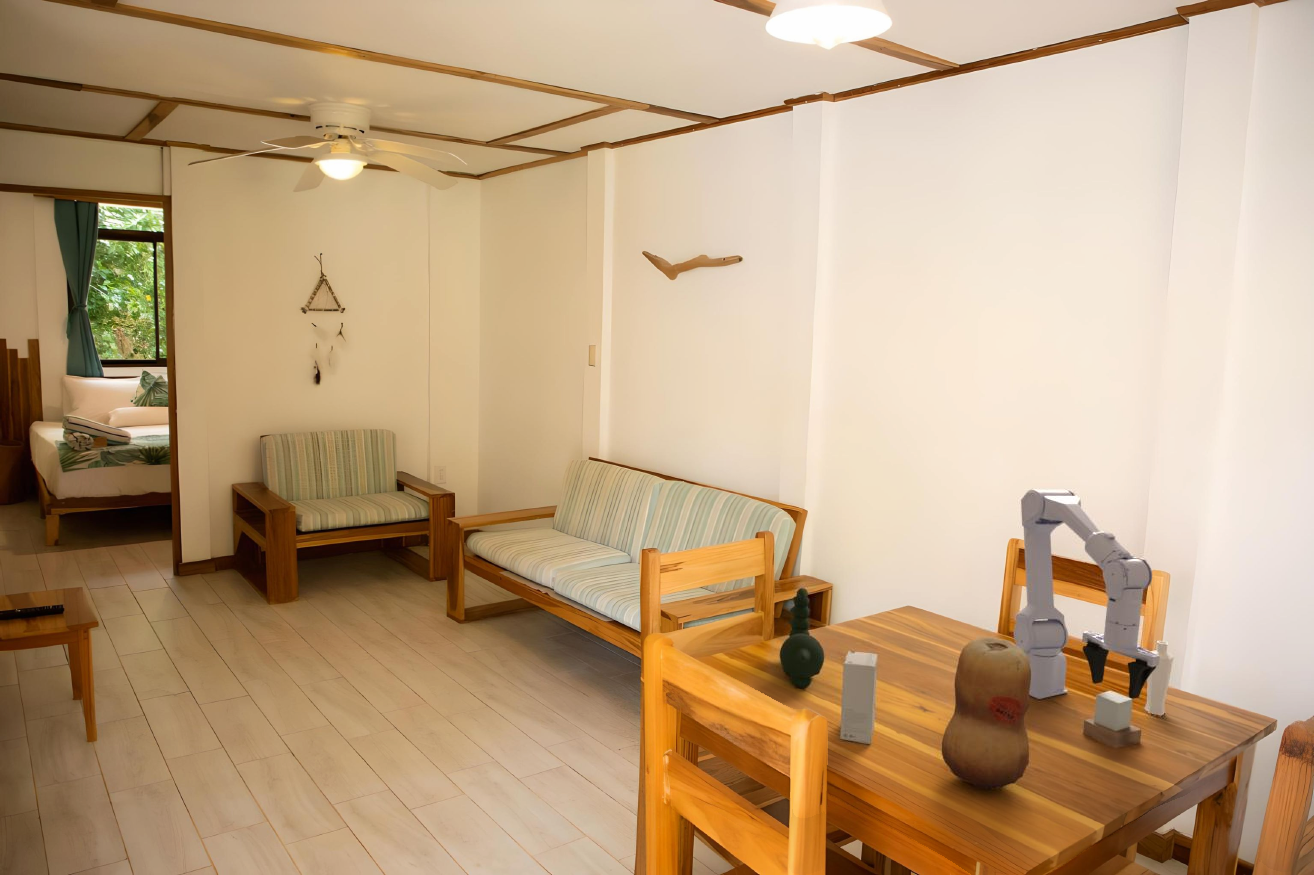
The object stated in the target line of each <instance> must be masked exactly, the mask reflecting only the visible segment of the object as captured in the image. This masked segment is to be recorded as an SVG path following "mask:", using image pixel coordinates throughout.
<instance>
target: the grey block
mask: <svg viewBox="0 0 1314 875" xmlns="http://www.w3.org/2000/svg"><path fill="white" fill-rule="evenodd" d="M1095 696H1096V697H1095V707H1094V717H1093V718H1094V722H1095V723H1097V724H1100V725H1102V726H1105V727H1107V728H1109V729H1112V730H1114V731H1118V730H1121V729H1124V728H1127V727H1130V724H1131V720H1132V719H1131V718H1132V711H1133V700H1134V699H1131V698H1129V696H1125V695H1123V694H1121V693H1118V692H1114V691H1113V690H1107V691H1105V692H1101V693H1098V694H1096V695H1095Z"/></svg>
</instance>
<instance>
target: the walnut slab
mask: <svg viewBox="0 0 1314 875" xmlns="http://www.w3.org/2000/svg"><path fill="white" fill-rule="evenodd" d="M1082 733H1083V734H1084V735H1086V734H1087V735H1086V736H1088V735H1089V737H1090V736H1091V737H1090V738H1093V737H1094V738H1093V739H1095V740H1097V739H1098V740H1097V741H1099V740H1100V741H1099V742H1101V743H1103V744H1105V745H1107V744H1108V745H1107V746H1109V747H1111V746H1112V747H1111V748H1112V749H1119V748H1123V746H1124V747H1126V746H1132V745H1136V744H1140V743H1141V739H1142V738H1141V736H1142V728H1139V727H1138V726H1135V725H1133V724H1131V723H1130V727H1127V728H1124V729H1121V730H1118V731H1114V730H1112V729H1109V728H1107V727H1105V726H1102V725H1100V724H1097V723H1095V722H1094V717H1092V718H1088V719H1084V720H1083V731H1082ZM1139 742H1140V743H1139ZM1135 743H1136V744H1135ZM1131 744H1132V745H1131Z"/></svg>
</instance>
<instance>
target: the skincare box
mask: <svg viewBox="0 0 1314 875" xmlns="http://www.w3.org/2000/svg"><path fill="white" fill-rule="evenodd" d="M844 660H845V661H844V662H843V664H842V665H843V668H842V686H841V687H842V689H841V706H840V707H841V711H840V734H839V736H840V737H839V739H840V740H843V741H851V742H855V743H860V744H863V745H864V744H865V745H871V744H872V736H873V732H874V729H875V719H876V718H875V716H876V694H877V667H878V654H877V653H870V652H861V651H853V650H852V651H851V650H848V651H847V654H846V655H845V659H844Z"/></svg>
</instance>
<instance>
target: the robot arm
mask: <svg viewBox="0 0 1314 875" xmlns="http://www.w3.org/2000/svg"><path fill="white" fill-rule="evenodd" d="M1081 504H1082V502H1081V498H1080V497H1078V496H1077V495H1076V493H1075V492H1074V491H1073V490H1071V489H1068V488H1067V489H1033V488H1032V489H1029V490H1027V492H1026V493H1025V494H1024V496H1023V497H1022V498H1021V500H1020V505H1021V506H1020V509H1021V512H1020V513H1021V525H1022V527H1023V536H1024V537H1023V542H1024V564H1025V587H1026V605H1025V607H1023V608H1022V609H1021V610H1019V611H1018V612H1017V613H1016V614H1015V626H1014V629H1013V639H1014V642H1015V644H1016V645H1017V646H1018V647H1020V648H1021V649H1022V650H1023V651H1024V652H1025V654H1026V655H1027V656H1028V658H1029V661H1030V668H1031V684H1030V691H1029V697H1030V696H1031V697H1033V698H1035V699H1038V700H1040V699H1041V700H1042V699H1046V698H1050V697H1053V696H1054V697H1055V696H1058V695H1063V694H1067V693H1069V692H1068V689H1066V688H1065V685H1066V684H1065V683H1066V674H1067V665H1068V664H1067V658H1066V656H1065V654H1064V653H1063V652H1062V649H1064V648H1065V647H1066V646H1067V644H1068V641H1069V632H1068V631H1069V630H1068V629H1067V626H1066V623H1065V615H1064V614H1063V613H1062V612H1061V611H1060V610H1058V609H1057V608H1056V607H1055V605H1054V604H1055V603H1054V602H1055V601H1054V600H1055V599H1054V598H1055V597H1054V583H1053V563H1052V561H1053V560H1052V558H1053V557H1052V542H1051V540H1052V538H1051V535H1052V533H1053V531H1055V529H1057V527H1059V526H1061V525H1063V524H1065V525H1066V526H1067V527H1068V528H1069V529H1070V530H1071V531H1072V532H1073V533H1074V534H1076V535H1077V536H1078V537H1079V538H1080V539H1081V540H1082V541H1083V542H1085V544H1084V551H1085V553H1086V554H1087V555H1088V556H1089V557H1090V558H1091V559H1092V560H1093V561H1094V562H1095V564H1096V565H1097V566H1098V567H1099V569H1101V570H1102V577H1103V581H1104V583H1105V593H1106V596H1107V604H1106V613H1105V620H1104V621H1105V622H1104V625H1105V626H1104V632H1103V634H1101V633H1098V632H1093V631H1091V630H1087V631H1084V632H1082V640H1081V641H1082V642H1083V643H1085V644H1086V645H1083V646H1082V651H1083V654H1084V655H1085V658H1086V660H1087V663H1088V665H1089V670H1090V676H1091V680H1092V684H1095V685H1096V684H1101V683H1103V680H1104V678H1105V677H1104V676H1105V668H1106V667H1105V666H1106V661H1107V658H1108V656H1109V652H1114V653H1116V654H1119V655H1122V656H1124V657H1127V658H1130V659H1133V660H1135V661H1130V662H1127V669H1128V674H1129V676H1128V677H1129V686H1128V697H1129V698H1131V699H1133V700H1134V699H1137V698H1140V696H1141V692H1142V689H1143V688H1144V685H1145V683H1146V682H1147V680H1148V677H1149V676H1150V674H1151V673H1152V672H1153V671H1154V669H1155V668H1156V666H1159V659H1160V656H1159V655H1157V654H1154V653H1152V652H1151V651H1150V650H1148V649H1146V648H1144V647H1142V646H1140V645H1139V644H1138V640H1139V634H1140V633H1139V631H1140V625H1141V624H1140V623H1141V616H1142V615H1141V613H1142V604H1143V594H1144V590H1145V589H1147V588H1148V587H1150V586H1151V584H1152V581H1153V570H1152V568H1151V566H1150V564H1149V563H1148V562H1147V560H1146V559H1145V558H1142V557H1136V556H1135V555H1131V553H1130V552H1129V551H1128V550H1126V549H1125V547H1124V546H1122V545H1121V543H1120V542H1119V541H1118V540H1117V539H1116V536H1115V535H1114V534H1113V533H1110V532H1107V531H1100V529H1098V527H1097V526H1096V525H1095V523H1094V522H1093V521H1092V519H1091V518H1090V517H1089V516H1088V515H1087V514H1086V512H1085V511H1084V510H1083V508H1082V507H1081V506H1082V505H1081Z"/></svg>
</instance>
